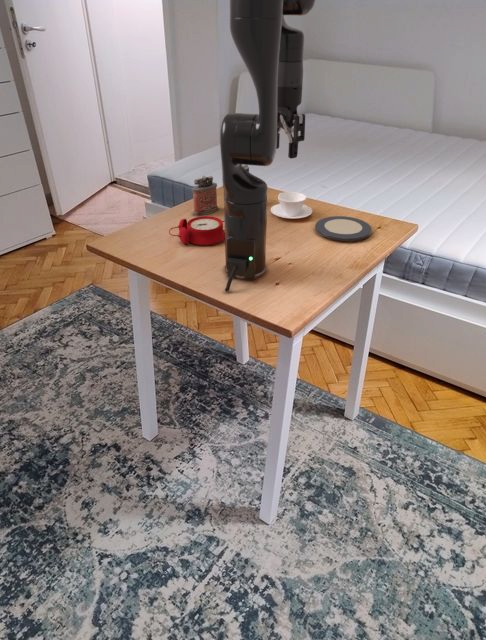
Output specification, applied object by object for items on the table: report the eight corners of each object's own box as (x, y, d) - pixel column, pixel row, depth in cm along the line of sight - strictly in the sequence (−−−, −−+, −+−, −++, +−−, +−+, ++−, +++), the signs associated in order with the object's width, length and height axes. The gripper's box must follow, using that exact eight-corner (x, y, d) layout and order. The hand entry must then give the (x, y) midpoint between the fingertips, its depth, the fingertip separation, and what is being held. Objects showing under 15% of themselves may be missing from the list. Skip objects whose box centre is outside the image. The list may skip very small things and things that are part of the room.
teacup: (289, 204, 146) (290, 186, 143) (320, 215, 139) (322, 196, 136) (261, 214, 139) (262, 196, 136) (293, 226, 132) (294, 207, 129)
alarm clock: (231, 231, 121) (171, 221, 117) (226, 254, 124) (168, 245, 120) (227, 215, 129) (171, 205, 125) (222, 237, 132) (168, 228, 129)
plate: (369, 246, 123) (370, 241, 122) (311, 239, 126) (311, 234, 125) (372, 223, 134) (373, 218, 134) (318, 218, 137) (319, 213, 136)
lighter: (212, 206, 144) (211, 172, 138) (220, 209, 142) (219, 175, 136) (191, 213, 139) (188, 178, 133) (198, 216, 137) (196, 181, 131)
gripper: (257, 78, 117) (257, 148, 127) (289, 89, 107) (286, 163, 118) (284, 75, 120) (281, 144, 130) (317, 85, 110) (311, 158, 120)
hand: (283, 153), depth 124 cm, fingers open, 8 cm apart
